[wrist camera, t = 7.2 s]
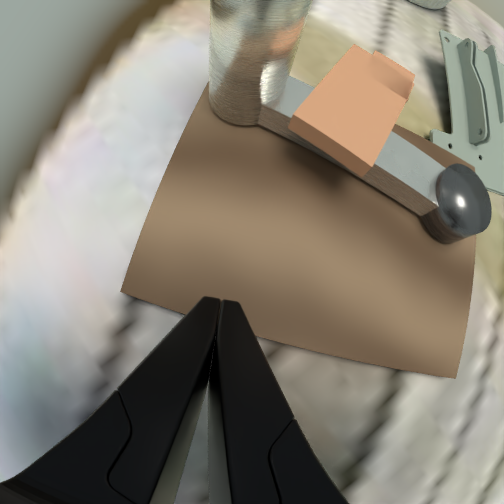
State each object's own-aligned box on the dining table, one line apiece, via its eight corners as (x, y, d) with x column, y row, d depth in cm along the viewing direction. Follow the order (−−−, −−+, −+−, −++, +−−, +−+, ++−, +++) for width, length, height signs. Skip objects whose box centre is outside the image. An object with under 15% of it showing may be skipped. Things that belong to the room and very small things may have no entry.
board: (444, 376, 14) (455, 378, 13) (126, 293, 14) (120, 291, 13) (466, 173, 17) (474, 167, 16) (217, 75, 16) (218, 63, 16)
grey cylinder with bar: (469, 201, 15) (611, 117, 5) (459, 255, 14) (632, 186, 4) (231, 64, 15) (253, -119, 5) (195, 107, 14) (191, -108, 4)
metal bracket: (428, -1, 14) (546, 76, 15) (394, 34, 20) (509, 91, 21) (448, 189, 15) (562, 227, 16) (399, 196, 21) (518, 226, 22)
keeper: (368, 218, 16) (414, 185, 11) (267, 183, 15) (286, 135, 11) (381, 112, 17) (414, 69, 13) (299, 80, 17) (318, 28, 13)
